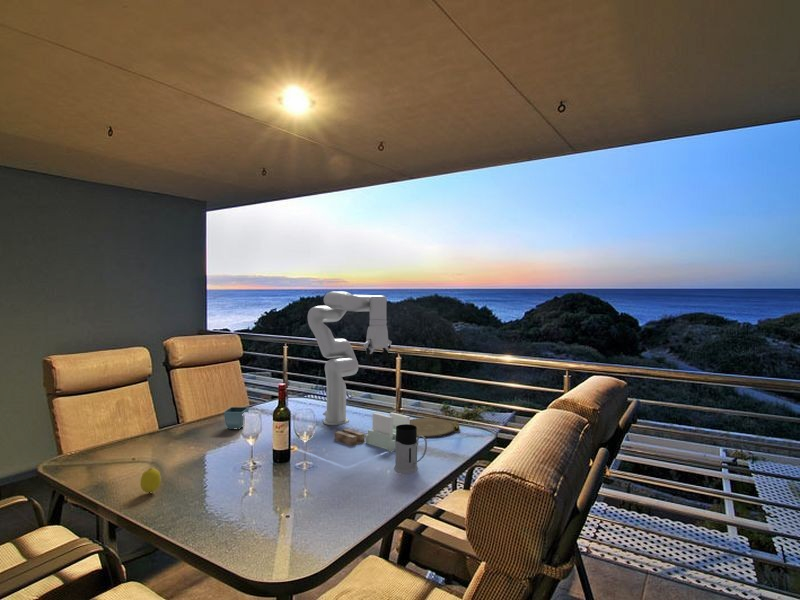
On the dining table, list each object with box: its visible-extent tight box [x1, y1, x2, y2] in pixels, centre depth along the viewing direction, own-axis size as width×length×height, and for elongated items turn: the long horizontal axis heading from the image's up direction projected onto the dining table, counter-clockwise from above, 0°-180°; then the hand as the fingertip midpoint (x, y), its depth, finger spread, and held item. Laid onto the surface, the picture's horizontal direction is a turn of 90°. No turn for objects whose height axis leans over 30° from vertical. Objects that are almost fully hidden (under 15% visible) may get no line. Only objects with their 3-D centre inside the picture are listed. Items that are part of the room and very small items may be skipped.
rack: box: [364, 412, 411, 453], centre depth 184 cm, size 14×17×11 cm
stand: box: [333, 428, 366, 447], centre depth 184 cm, size 12×8×4 cm, turn 49°
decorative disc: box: [410, 417, 460, 438], centre depth 205 cm, size 29×3×30 cm
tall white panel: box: [371, 412, 393, 440], centre depth 180 cm, size 10×2×12 cm, turn 50°
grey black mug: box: [393, 424, 428, 475], centre depth 154 cm, size 9×14×15 cm, turn 44°
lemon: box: [140, 467, 162, 493], centre depth 135 cm, size 6×6×8 cm
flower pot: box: [223, 406, 250, 430], centre depth 203 cm, size 9×9×9 cm
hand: (377, 361), depth 193 cm, fingers open, 9 cm apart
